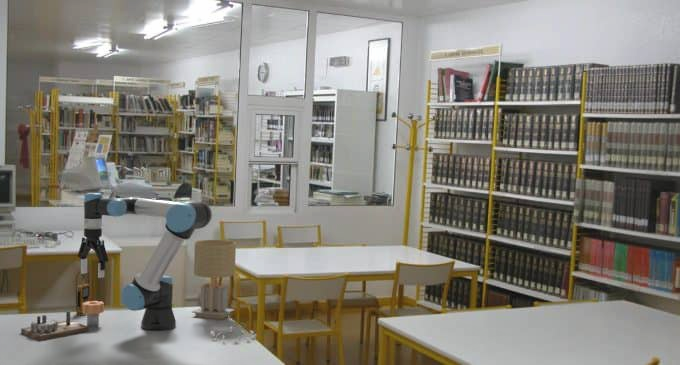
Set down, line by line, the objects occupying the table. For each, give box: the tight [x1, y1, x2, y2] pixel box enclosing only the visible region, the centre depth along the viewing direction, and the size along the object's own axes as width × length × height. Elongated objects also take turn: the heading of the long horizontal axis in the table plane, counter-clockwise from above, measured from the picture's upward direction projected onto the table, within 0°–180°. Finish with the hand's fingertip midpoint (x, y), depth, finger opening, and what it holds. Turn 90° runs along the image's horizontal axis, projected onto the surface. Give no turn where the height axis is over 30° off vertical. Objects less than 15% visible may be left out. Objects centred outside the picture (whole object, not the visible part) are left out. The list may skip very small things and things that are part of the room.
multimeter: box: [75, 270, 91, 317], centre depth 358 cm, size 15×10×20 cm
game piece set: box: [209, 325, 258, 344], centre depth 322 cm, size 19×20×4 cm
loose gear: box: [82, 300, 105, 315], centre depth 335 cm, size 9×9×4 cm
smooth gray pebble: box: [86, 314, 100, 327], centre depth 336 cm, size 5×5×6 cm
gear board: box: [20, 310, 90, 341], centre depth 322 cm, size 16×22×8 cm
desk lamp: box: [191, 239, 237, 320], centre depth 361 cm, size 20×20×35 cm
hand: (92, 275), depth 334 cm, fingers open, 13 cm apart
